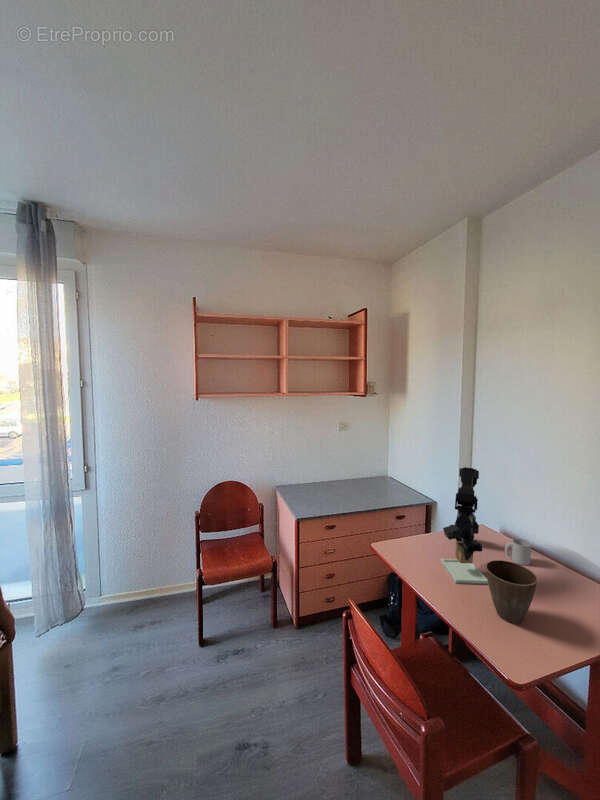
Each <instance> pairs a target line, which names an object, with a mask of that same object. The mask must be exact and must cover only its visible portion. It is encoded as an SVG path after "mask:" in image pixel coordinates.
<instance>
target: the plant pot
mask: <svg viewBox="0 0 600 800" xmlns="http://www.w3.org/2000/svg"><path fill="white" fill-rule="evenodd" d="M485 571H486V576H487V577H486V578H487V579H488V584H489V585H488V588H489V593H490V595H491V596H490V597H491V599H492V601H493V605H494V609H495V611H496V614H497V615H498V616H499V618H501V619H502V621H505V622H507V623H511V624H520V623H522V621H523V620H524V618H525V617H526V615H527V613H528V611H529V609H530V606H531V605H532V602H533V600H534V599H533V598H534V595H535V593H536V588H537V584H538V577H537V575H536V574H535V573H534V572H533V571H531V569H528V567H525V566H524V565H520V564H517V563H515V562H513V561H508V560H498V559H497V560H496V559H494V560H490V561H489V562H486V564H485Z"/></svg>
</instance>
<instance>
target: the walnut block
mask: <svg viewBox="0 0 600 800" xmlns="http://www.w3.org/2000/svg"><path fill="white" fill-rule="evenodd" d="M461 545H463V541H456V540H455V556H454V557H455V559H458V561H459V562H460V563H472V564H473V563H474V553H473V554H472V556H471V557H470V559H469V560H465V553H464V548H463V547H462V546H461Z"/></svg>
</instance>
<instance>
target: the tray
mask: <svg viewBox="0 0 600 800" xmlns="http://www.w3.org/2000/svg"><path fill="white" fill-rule="evenodd" d="M440 563H441V564H442V565H443V567H444V568H445V570H446V571H447V573H448V574H449V576H450V578H452V580H453V581H454V583H455V584H456V585H457V584H459V585H460V584H464V585H488V586H489V584H488V578H487V577H486V576H485V575H484V573H483V572H482V571H481V570H480V569H479V568H478V567H477V566H476V564H475V563H474V562H473V564H472V563H460V562H459V561H458V559H457V558H440Z"/></svg>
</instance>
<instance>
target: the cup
mask: <svg viewBox="0 0 600 800" xmlns="http://www.w3.org/2000/svg"><path fill="white" fill-rule="evenodd" d="M510 547H511V553H510ZM531 552H532V543H530V542H529V541H527V540H525V539H522V538H512V539H511V542H508V543H506V544H505V545H504V553H505V555H506V556H507V557H509V558H510V559H511V560H512V562H513V563H516V564H519V565H521V566H530V564H531Z"/></svg>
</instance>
